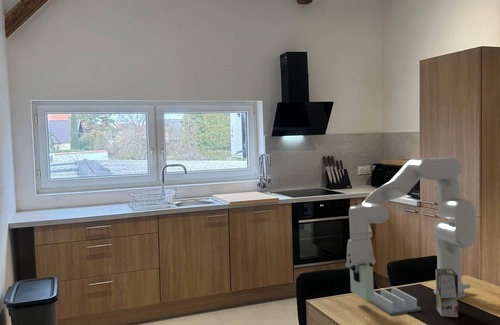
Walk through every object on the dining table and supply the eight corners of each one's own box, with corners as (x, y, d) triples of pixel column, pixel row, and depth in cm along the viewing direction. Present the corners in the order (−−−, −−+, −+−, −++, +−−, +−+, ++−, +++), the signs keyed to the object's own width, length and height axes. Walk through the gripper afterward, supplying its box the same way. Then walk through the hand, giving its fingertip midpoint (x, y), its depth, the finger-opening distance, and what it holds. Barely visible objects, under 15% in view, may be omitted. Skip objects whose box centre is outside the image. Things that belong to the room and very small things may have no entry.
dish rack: (394, 295, 193) (393, 285, 192) (421, 310, 175) (420, 299, 175) (365, 299, 189) (365, 289, 188) (390, 315, 171) (390, 304, 171)
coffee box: (458, 317, 168) (458, 275, 167) (440, 316, 169) (440, 274, 168) (452, 308, 177) (452, 268, 176) (435, 307, 178) (435, 268, 177)
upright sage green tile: (358, 290, 187) (356, 259, 187) (373, 299, 176) (372, 267, 175) (350, 291, 186) (349, 260, 186) (366, 300, 175) (364, 268, 174)
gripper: (372, 232, 186) (374, 275, 187) (336, 236, 181) (338, 280, 182) (382, 235, 179) (384, 280, 180) (345, 240, 174) (347, 286, 175)
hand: (361, 280), depth 181 cm, fingers closed on upright sage green tile, 3 cm apart
